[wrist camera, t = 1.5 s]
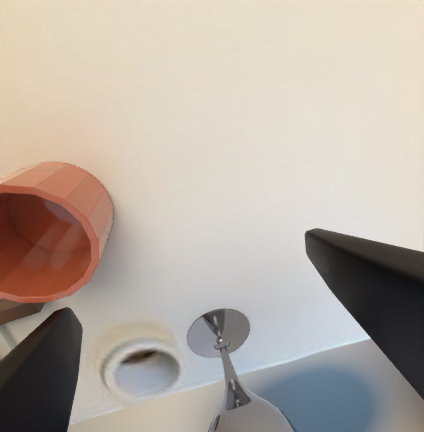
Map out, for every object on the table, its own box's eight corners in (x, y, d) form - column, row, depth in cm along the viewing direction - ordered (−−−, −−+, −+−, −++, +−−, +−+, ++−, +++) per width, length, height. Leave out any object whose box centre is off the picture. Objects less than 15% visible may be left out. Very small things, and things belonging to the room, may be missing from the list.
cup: (-8, 230, 19) (-73, 279, 14) (24, 141, 17) (-35, 157, 12) (92, 264, 22) (71, 316, 16) (129, 190, 20) (119, 221, 15)
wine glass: (185, 365, 29) (211, 590, 16) (180, 312, 26) (207, 537, 12) (251, 352, 30) (327, 547, 17) (254, 300, 27) (351, 490, 14)
